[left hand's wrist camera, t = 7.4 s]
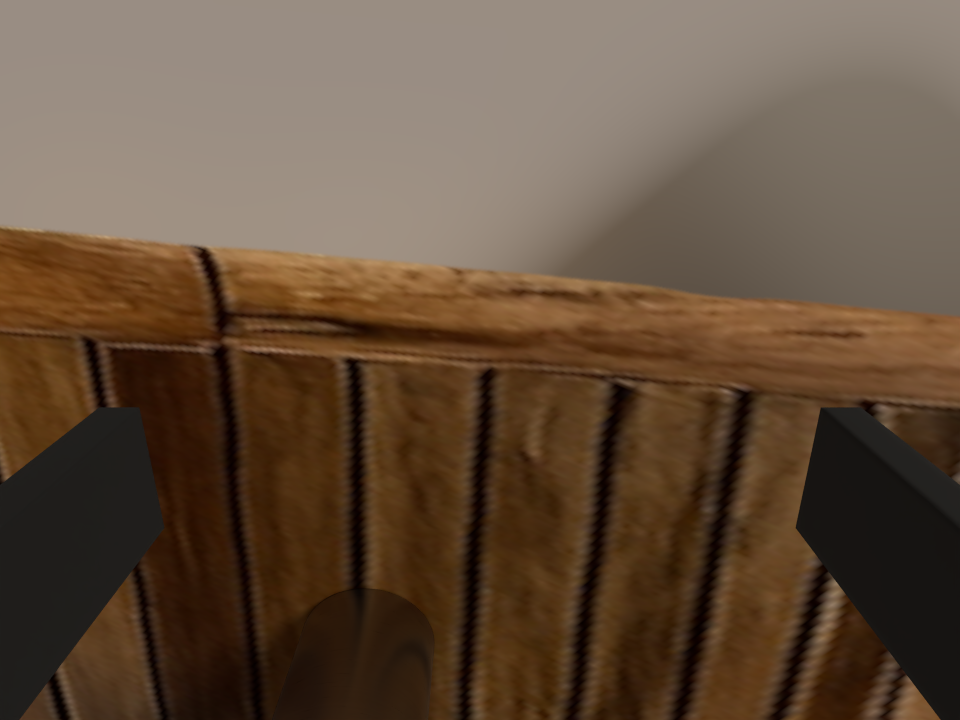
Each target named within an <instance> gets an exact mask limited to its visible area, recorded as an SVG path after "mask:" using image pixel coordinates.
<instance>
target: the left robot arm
mask: <svg viewBox="0 0 960 720" xmlns="http://www.w3.org/2000/svg"><path fill="white" fill-rule="evenodd" d="M163 529H164V524H163V519H162V514H161V510H160V505H159V500H158V495H157V491H156V486H155V481H154V476H153V472H152V467H151V462H150V457H149V452H148V448H147V443H146V438H145V433H144V429H143V424H142V419H141V414H140V410H139V408H98V409H97V410H96V411H94V412H93V413H92V414H90V415H89V416H88V417H87V418H85V419H84V420H83V421H82V422H80V423H79V424H78V425H76V426H75V427H74V428H73V429H71V430H70V431H69V432H67V433H66V434H65V435H64V436H62V437H61V438H60V439H58V440H57V441H56V442H55V443H53V444H52V445H51V446H50V447H48V448H47V449H46V450H44V451H43V452H42V453H41V454H39V455H38V456H37V457H35V458H34V459H33V460H32V461H30V462H29V463H28V464H26V465H25V466H24V467H23V468H21V469H20V470H19V471H18V472H16V473H15V474H14V475H12V476H11V477H10V478H9V479H7V480H6V481H5V482H3V483H2V484H1V485H0V720H19V719H20V718H21V717H22V715H23V714H24V713H25V711H26V710H27V709H28V707H29V706H30V705H31V703H32V702H33V701H34V699H35V698H36V697H37V696H38V694H39V693H40V692H41V690H42V689H43V688H44V686H45V685H46V684H47V682H48V681H49V680H50V678H51V677H52V676H53V674H54V673H55V672H56V670H57V669H58V668H59V666H60V665H61V664H62V662H63V661H64V660H65V658H66V657H67V656H68V655H69V653H70V652H71V651H72V649H73V648H74V647H75V645H76V644H77V643H78V641H79V640H80V639H81V637H82V636H83V635H84V633H85V632H86V631H87V629H88V628H89V627H90V625H91V624H92V623H93V621H94V620H95V619H96V617H97V616H98V615H99V614H100V612H101V611H102V610H103V608H104V607H105V606H106V604H107V603H108V602H109V600H110V599H111V598H112V596H113V595H114V594H115V592H116V591H117V590H118V588H119V587H120V586H121V584H122V583H123V582H124V580H125V579H126V578H127V576H128V575H129V574H130V573H131V571H132V570H133V569H134V567H135V566H136V565H137V563H138V562H139V561H140V559H141V558H142V557H143V555H144V554H145V553H146V551H147V550H148V549H149V547H150V546H151V545H152V543H153V542H154V541H155V539H156V538H157V537H158V535H159V534H160V533H161V531H162V530H163ZM796 529H797V530H798V532H799V533H800V534H801V535H802V537H803V538H804V539H805V541H806V542H807V543H808V545H809V546H810V547H811V549H812V550H813V551H814V553H815V554H816V555H817V557H818V558H819V559H820V561H821V562H822V563H823V565H824V566H825V567H826V569H827V570H828V571H829V573H830V574H831V575H832V576H833V578H834V579H835V580H836V582H837V583H838V584H839V586H840V587H841V588H842V590H843V591H844V592H845V594H846V595H847V596H848V598H849V599H850V600H851V602H852V603H853V604H854V606H855V607H856V608H857V610H858V611H859V612H860V614H861V615H862V616H863V617H864V619H865V620H866V621H867V623H868V624H869V625H870V627H871V628H872V629H873V631H874V632H875V633H876V635H877V636H878V637H879V639H880V640H881V641H882V643H883V644H884V645H885V647H886V648H887V649H888V651H889V652H890V653H891V655H892V656H893V657H894V658H895V660H896V661H897V662H898V664H899V665H900V666H901V668H902V669H903V670H904V672H905V673H906V674H907V676H908V677H909V678H910V680H911V681H912V682H913V684H914V685H915V686H916V688H917V689H918V690H919V692H920V693H921V694H922V696H923V697H924V698H925V699H926V701H927V702H928V703H929V705H930V706H931V707H932V709H933V710H934V711H935V713H936V714H937V715H938V717H939V718H940V719H941V720H960V485H959V484H958V483H957V482H955V481H954V480H953V479H951V478H950V477H949V476H948V475H946V474H945V473H944V472H942V471H941V470H940V469H939V468H937V467H936V466H935V465H934V464H932V463H931V462H930V461H928V460H927V459H926V458H925V457H923V456H922V455H921V454H919V453H918V452H917V451H916V450H914V449H913V448H912V447H910V446H909V445H908V444H907V443H905V442H904V441H903V440H902V439H900V438H899V437H898V436H896V435H895V434H894V433H893V432H891V431H890V430H889V429H887V428H886V427H885V426H884V425H882V424H881V423H880V422H878V421H877V420H876V419H875V418H873V417H872V416H871V415H870V414H868V413H867V412H866V411H864V410H863V409H862V408H821V410H820V414H819V419H818V424H817V429H816V433H815V438H814V443H813V448H812V452H811V457H810V462H809V467H808V472H807V476H806V481H805V486H804V491H803V495H802V500H801V505H800V510H799V514H798V519H797V524H796Z"/></svg>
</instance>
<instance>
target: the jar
mask: <svg viewBox="0 0 960 720" xmlns="http://www.w3.org/2000/svg"><path fill="white" fill-rule="evenodd" d="M433 653H434V636H433V632H432V629H431V626H430V624H429V622H428V620H427V619H426V618H425V616H424V615H423V614H422V612H421V611H420V610H419V609H418V608H417V607H415V606H414V605H413V604H412V603H410V602H409V601H407V600H406V599H404V598H402V597H400V596H398V595H395V594H392V593H389V592H386V591H382V590H375V589H353V590H348V591H344V592H340V593H337V594H335V595H333V596H330V597H329V598H327V599H325V600H324V601H322V602H321V603H320V604H318V605H317V606H316V607H315V608H314V609H313V610H312V612H311V613H310V615H309V616H308V618H307V620H306V622H305V625H304V627H303V630H302V633H301V636H300V639H299V642H298V645H297V648H296V651H295V654H294V657H293V660H292V663H291V666H290V668H289V671H288V674H287V677H286V680H285V683H284V686H283V689H282V692H281V695H280V698H279V701H278V704H277V707H276V709H275V712H274V715H273V718H272V720H428V712H429V700H430V688H431V677H432V665H433Z"/></svg>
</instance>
